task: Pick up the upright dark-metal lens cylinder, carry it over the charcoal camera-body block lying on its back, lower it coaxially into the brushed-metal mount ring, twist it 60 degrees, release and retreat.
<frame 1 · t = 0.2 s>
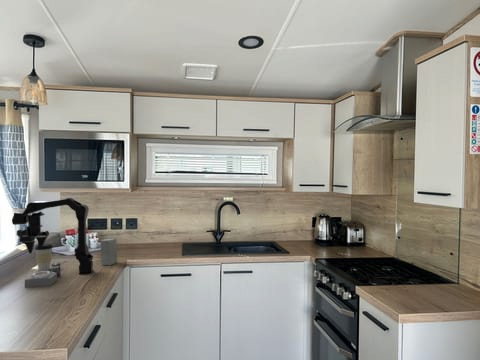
hand: (35, 251, 180), 14 cm above the counter, fingers open, 9 cm apart
coffee cup: (44, 269, 192), on the counter
camera body: (41, 283, 167), on the counter
lens: (56, 276, 179), on the counter
skincare box: (108, 264, 204), on the counter
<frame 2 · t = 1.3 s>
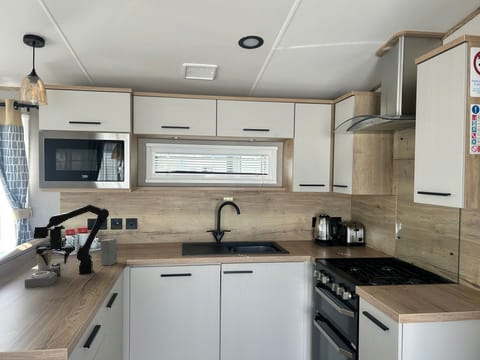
hand: (56, 264, 179), 6 cm above the counter, fingers open, 9 cm apart
nothing on the counter moved.
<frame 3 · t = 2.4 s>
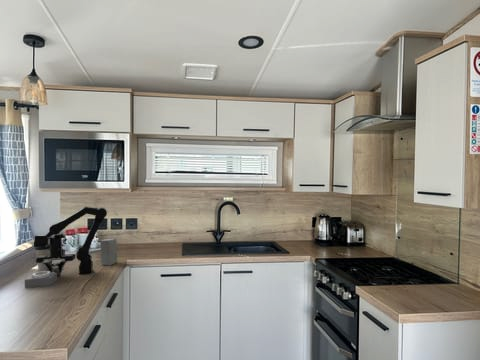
hand: (56, 273, 179), 2 cm above the counter, fingers closed on lens, 4 cm apart
lens: (56, 276, 179), on the counter, touching gripper
everything else where it was.
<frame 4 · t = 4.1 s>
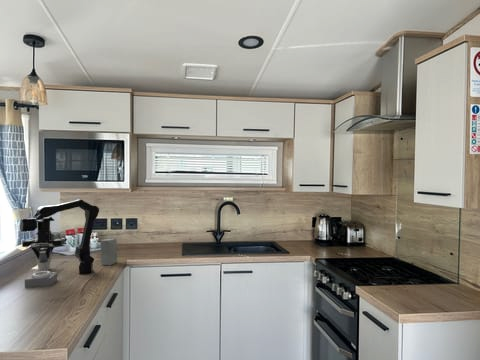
hand: (43, 258, 169), 12 cm above the counter, fingers closed on lens, 4 cm apart
lens: (43, 261, 169), point 11 cm above the counter, touching gripper
everything else where it was.
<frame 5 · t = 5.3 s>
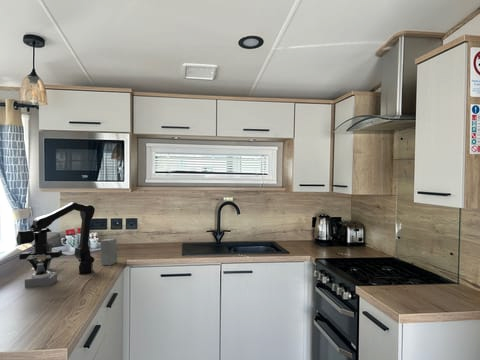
hand: (41, 270, 167), 7 cm above the counter, fingers closed on lens, 4 cm apart
lens: (41, 273, 167), point 5 cm above the counter, touching gripper
everything else where it was.
when the fingers open (6 cm above the counter, at t = 6.3 s): lens stays where it is, resting on camera body.
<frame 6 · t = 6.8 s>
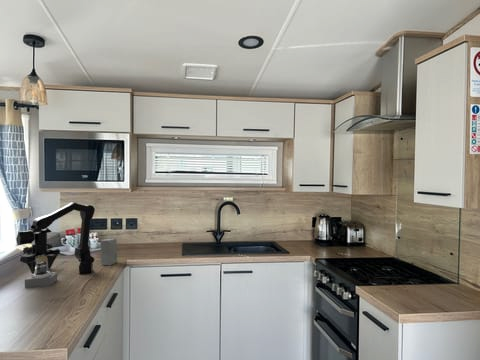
hand: (41, 271, 167), 6 cm above the counter, fingers open, 9 cm apart
lens: (41, 275, 167), point 4 cm above the counter, touching camera body
everything else where it was.
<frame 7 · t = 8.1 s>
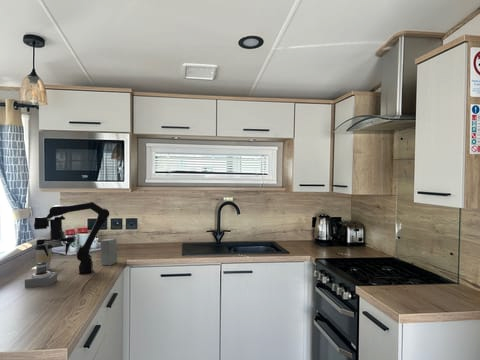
hand: (57, 255, 179), 12 cm above the counter, fingers open, 9 cm apart
nothing on the counter moved.
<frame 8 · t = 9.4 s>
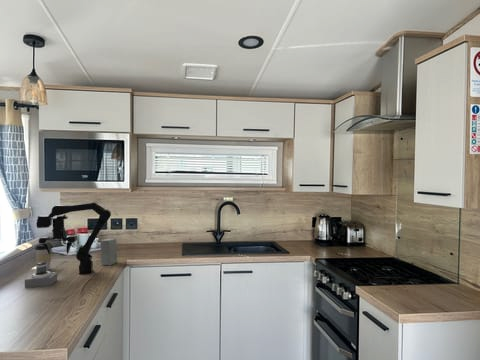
hand: (58, 254, 181), 12 cm above the counter, fingers open, 9 cm apart
nothing on the counter moved.
at the end: lens 0.1 cm off-centre on the camera body, point 4.0 cm above the camera body's base; lens tilted 0°; the gripper is holding nothing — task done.
